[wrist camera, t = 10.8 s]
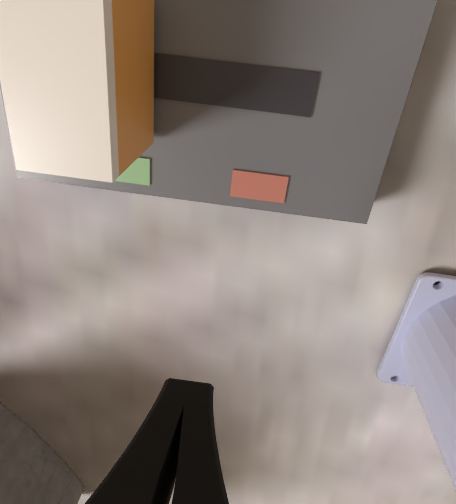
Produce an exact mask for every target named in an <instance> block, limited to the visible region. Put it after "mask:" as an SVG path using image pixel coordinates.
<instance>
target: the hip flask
mask: <svg viewBox="0 0 456 504" xmlns="http://www.w3.org/2000/svg"><path fill="white" fill-rule="evenodd" d="M82 491H83V485H82V483H81V482H80V480H79V479H78V478H77V476H76V475H75V474H74V473H73V471H72V470H71V469H70V468H69V466H68V465H67V464H66V463H65V462H64V461H63V460H62V459H61V458H60V456H59V455H58V454H57V453H56V452H55V451H54V450H53V449H52V448H51V447H50V446H49V445H48V444H47V443H46V442H45V441H44V440H43V439H42V438H41V437H40V436H38V435H37V434H36V433H35V432H34V431H33V430H32V429H31V428H30V427H29V426H28V425H26V424H25V423H24V422H23V421H22V420H21V419H20V418H18V417H17V416H16V415H15V414H13V413H12V412H11V411H10V410H9V409H7V408H6V407H5V406H4V405H2V404H1V403H0V504H77V503H78V501H79V499H80V496H81V494H82Z"/></svg>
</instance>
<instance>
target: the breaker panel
mask: <svg viewBox="0 0 456 504" xmlns="http://www.w3.org/2000/svg"><path fill="white" fill-rule="evenodd" d="M436 4H437V0H154V143H153V144H152V145H151V146H150V147H149V148H148V149H147V150H146V151H145V152H144V153H143V154H142V155H141V156H140V157H139V158H138V159H136V160H135V161H134V162H133V163H132V164H131V165H130V166H129V167H128V168H127V169H126V170H125V171H124V172H123V173H122V174H121V175H120V176H119V177H118V178H117V179H116V180H115V181H114V182H113V183H111V182H103V181H96V180H88V179H81V178H73V177H66V176H58V175H50V174H43V173H35V172H28V171H20V170H16V175H17V178H24V179H31V180H39V181H46V182H54V183H62V184H69V185H77V186H84V187H92V188H99V189H107V190H114V191H122V192H129V193H137V194H144V195H152V196H159V197H167V198H174V199H182V200H190V201H197V202H205V203H212V204H220V205H227V206H235V207H242V208H250V209H257V210H265V211H272V212H280V213H287V214H295V215H303V216H310V217H318V218H325V219H333V220H340V221H348V222H355V223H363V224H367V221H368V218H369V215H370V212H371V209H372V206H373V202H374V199H375V196H376V193H377V190H378V187H379V183H380V180H381V177H382V174H383V171H384V168H385V165H386V161H387V158H388V155H389V152H390V149H391V146H392V142H393V139H394V136H395V133H396V130H397V127H398V124H399V120H400V117H401V114H402V111H403V108H404V105H405V101H406V98H407V95H408V92H409V89H410V86H411V83H412V79H413V76H414V73H415V70H416V67H417V64H418V60H419V57H420V54H421V51H422V48H423V45H424V41H425V38H426V35H427V32H428V29H429V26H430V23H431V19H432V16H433V13H434V10H435V7H436ZM0 87H1V84H0ZM1 93H2V89H1ZM2 98H3V95H2ZM3 104H4V100H3ZM4 109H5V106H4ZM5 115H6V111H5ZM6 120H7V117H6ZM7 126H8V122H7ZM8 131H9V128H8ZM9 137H10V133H9ZM10 142H11V139H10ZM11 148H12V144H11ZM12 153H13V150H12ZM13 159H14V155H13ZM14 164H15V161H14ZM15 169H16V166H15Z"/></svg>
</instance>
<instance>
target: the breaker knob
mask: <svg viewBox="0 0 456 504" xmlns="http://www.w3.org/2000/svg"><path fill="white" fill-rule="evenodd" d="M0 84H1V89H2V95H3V100H4V106H5V111H6V117H7V122H8V128H9V133H10V139H11V144H12V150H13V155H14V161H15V166H16V170H20V171H28V172H35V173H43V174H50V175H58V176H66V177H73V178H81V179H88V180H96V181H103V182H111V183H113V182H114V181H115V180H116V179H117V178H118V177H119V176H120V175H121V174H122V173H123V172H124V171H125V170H126V169H127V168H128V167H129V166H130V165H131V164H132V163H133V162H134V161H135V160H136V159H138V158H139V157H140V156H141V155H142V154H143V153H144V152H145V151H146V150H147V149H148V148H149V147H150V146H151V145H152V144H153V143H154V0H0Z"/></svg>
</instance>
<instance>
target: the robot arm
mask: <svg viewBox="0 0 456 504" xmlns="http://www.w3.org/2000/svg"><path fill="white" fill-rule="evenodd" d="M437 281H440V283H439V284H437V285H433V284H434V283H435V282H437ZM392 376H394V377H392ZM377 377H378V379H379V381H381V382H384V383H390V384H397V385H404V386H411V387H414V389H415V392H416V394H417V397H418V399H419V402H420V404H421V407H422V409H423V412H424V414H425V417H426V419H427V421H428V424H429V426H430V429H431V431H432V434H433V436H434V439H435V441H436V444H437V446H438V449H439V451H440V454H441V456H442V459H443V461H444V464H445V466H446V468H447V471H448V473H449V476H450V478H451V481H452V483H453V486H454V488H455V491H456V276H452V275H444V274H437V273H430V272H429V273H423V274H421V275H419V276H418V278H417V279H416V281H415V284H414V286H413V288H412V291H411V293H410V296H409V298H408V300H407V303H406V305H405V307H404V310H403V312H402V314H401V317H400V319H399V322H398V324H397V326H396V329H395V331H394V333H393V336H392V338H391V340H390V343H389V345H388V347H387V350H386V352H385V355H384V357H383V359H382V362H381V364H380V366H379V369H378V371H377ZM213 389H214V387H213V386H212V385H211V384H208V383H201V382H193V381H186V380H179V379H171V378H169V379H167V380H166V381H165V383H164V385H163V388H162V390H161V392H160V394H159V396H158V398H157V400H156V401H155V403H154V405H153V407H152V409H151V410H150V412H149V414H148V415H147V417H146V419H145V420H144V422H143V424H142V425H141V427H140V428H139V430H138V431H137V433H136V435H135V436H134V438H133V439H132V441H131V442H130V444H129V445H128V447H127V448H126V450H125V451H124V453H123V454H122V455H121V457H120V458H119V459H118V461H117V462H116V464H115V465H114V466H113V468H112V469H111V471H110V472H109V473H108V475H107V476H106V477H105V479H104V480H103V481H102V483H101V484H100V485H99V487H98V488H97V489H96V490H95V492H94V493H93V494H92V495H91V497H90V498H89V499H88V500H87V501H86V503H85V504H169V502H170V498H171V494H172V490H173V487H174V483H175V488H174V494H173V499H172V504H229V502H228V498H227V494H226V489H225V485H224V480H223V476H222V471H221V466H220V460H219V454H218V448H217V442H216V435H215V427H214V416H213ZM175 479H176V481H175Z"/></svg>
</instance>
